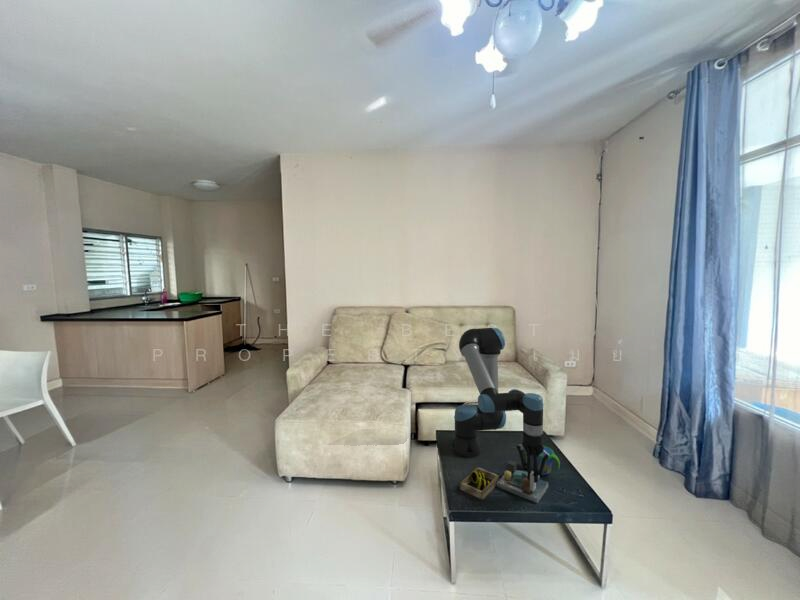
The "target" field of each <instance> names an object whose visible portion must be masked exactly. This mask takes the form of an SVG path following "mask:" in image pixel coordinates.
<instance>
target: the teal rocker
mask: <svg viewBox="0 0 800 600" xmlns="http://www.w3.org/2000/svg"><path fill="white" fill-rule="evenodd" d="M522 473H525V474H526V478H528V473H527V471H526V470H519V469H518V470H516V471H515V472H514V474H513V477H514V479H519V480H522ZM538 479H541V477H540V476H539V475H538Z"/></svg>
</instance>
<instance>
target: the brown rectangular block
mask: <svg viewBox="0 0 800 600" xmlns="http://www.w3.org/2000/svg"><path fill="white" fill-rule="evenodd" d="M522 490H523V491H526V492H528V493H530V492H531V490H530V481H529V480H528V478H524V479H523V480H522Z"/></svg>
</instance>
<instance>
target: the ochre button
mask: <svg viewBox="0 0 800 600" xmlns="http://www.w3.org/2000/svg"><path fill="white" fill-rule="evenodd" d="M503 475H504V478H505V479H506V480H511V472H510V471H508V470H504V472H503Z"/></svg>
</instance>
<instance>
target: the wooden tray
mask: <svg viewBox="0 0 800 600" xmlns="http://www.w3.org/2000/svg"><path fill="white" fill-rule="evenodd" d="M473 471H476V472H479V473H483V474H484V477H485V479H488V480H490V481H489V484H490V485H487V486H486V487H485V489H484V490H482V489H480V490H478V488H476V487H474V486H472V485H470V483H471V482H472V480H471V478H472V474H471V473H469V474H468V475H467V476H466V477H465V478H464V479H463V480H462V481H460V484H459V486H460V487H459V490H460V491H463V492H465V493H467V494H469V495H471V496H472V497H473V496H474V497H476V498H478V499H479V500H482V501H483V500H484V499H485V498H486V497H487V496H488V495H489V494H490V493H491V492H492V491H493V490H494V489H495V487H497V482H498V481H499V480H500V475H499V474H496V473H494V472H491V471H488V470H486V469H484V468H481V467H476V468H475V469H474V470H473Z"/></svg>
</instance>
